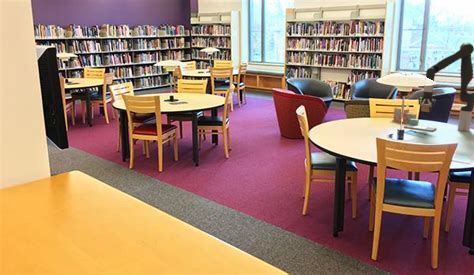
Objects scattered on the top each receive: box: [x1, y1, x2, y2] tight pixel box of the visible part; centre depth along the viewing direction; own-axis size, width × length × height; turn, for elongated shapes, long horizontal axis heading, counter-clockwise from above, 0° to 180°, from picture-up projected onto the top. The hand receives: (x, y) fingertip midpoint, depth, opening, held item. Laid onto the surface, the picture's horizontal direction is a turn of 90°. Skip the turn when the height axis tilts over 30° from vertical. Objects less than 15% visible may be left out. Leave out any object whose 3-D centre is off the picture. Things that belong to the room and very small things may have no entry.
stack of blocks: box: [392, 107, 417, 124], centre depth 390 cm, size 21×6×12 cm, turn 26°
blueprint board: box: [403, 123, 437, 133], centre depth 362 cm, size 12×24×2 cm, turn 52°
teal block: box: [409, 118, 420, 126], centre depth 374 cm, size 6×6×6 cm
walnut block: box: [420, 103, 431, 113], centre depth 359 cm, size 6×6×6 cm
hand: (425, 110), depth 359 cm, fingers closed on walnut block, 6 cm apart
